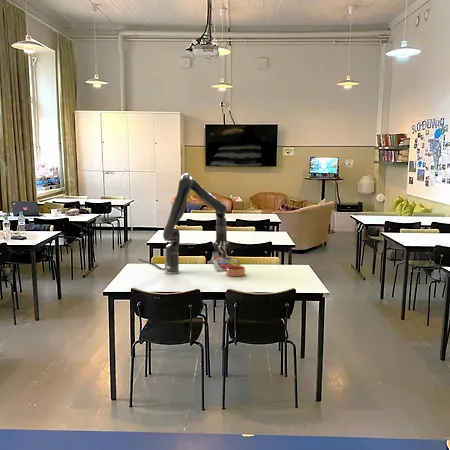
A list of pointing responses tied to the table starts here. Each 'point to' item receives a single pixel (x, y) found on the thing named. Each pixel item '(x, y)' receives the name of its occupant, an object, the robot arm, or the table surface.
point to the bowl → (235, 271)
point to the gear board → (223, 263)
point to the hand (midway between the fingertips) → (221, 255)
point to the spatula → (223, 254)
